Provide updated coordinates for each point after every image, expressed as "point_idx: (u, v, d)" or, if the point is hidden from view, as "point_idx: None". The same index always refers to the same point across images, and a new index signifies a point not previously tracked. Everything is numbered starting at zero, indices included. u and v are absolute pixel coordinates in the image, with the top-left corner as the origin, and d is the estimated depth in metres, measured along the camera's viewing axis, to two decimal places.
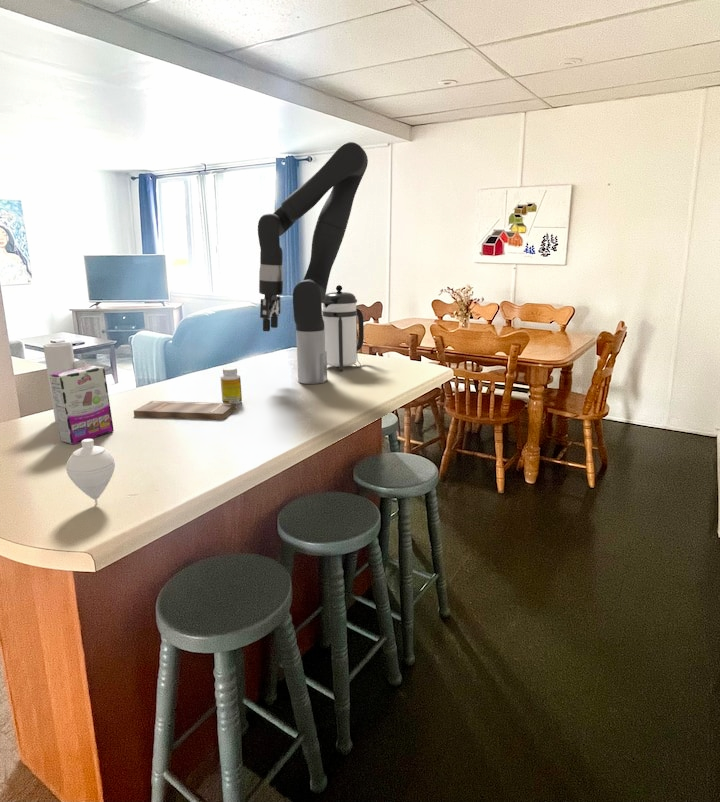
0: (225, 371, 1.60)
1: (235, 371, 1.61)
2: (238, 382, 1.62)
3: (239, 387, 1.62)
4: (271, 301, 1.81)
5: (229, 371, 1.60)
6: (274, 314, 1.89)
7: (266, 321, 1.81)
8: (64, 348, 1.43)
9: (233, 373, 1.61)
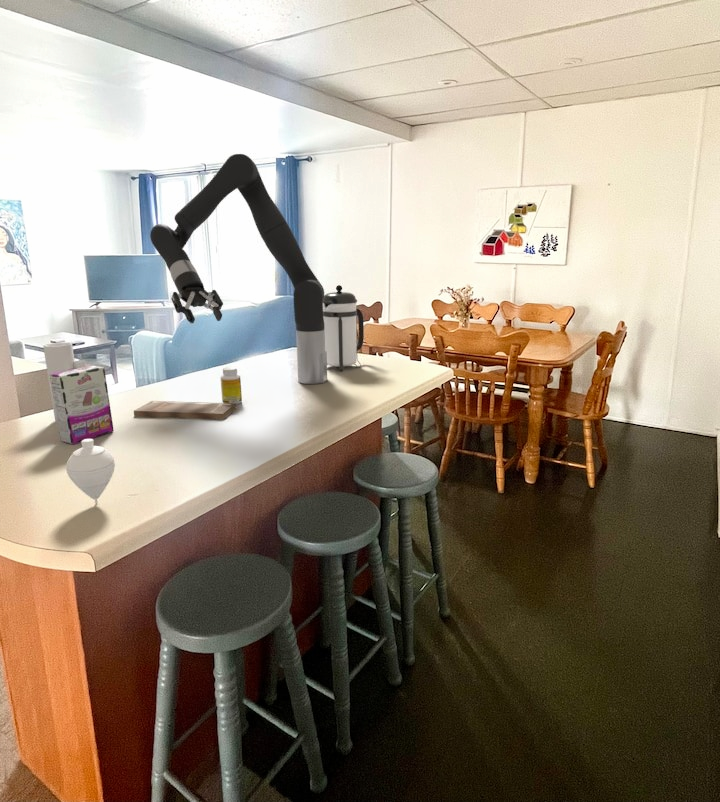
0: (225, 371, 1.60)
1: (235, 371, 1.61)
2: (238, 382, 1.62)
3: (239, 387, 1.62)
4: (186, 294, 1.67)
5: (229, 371, 1.60)
6: (213, 307, 1.71)
7: (185, 312, 1.64)
8: (64, 348, 1.43)
9: (233, 373, 1.61)
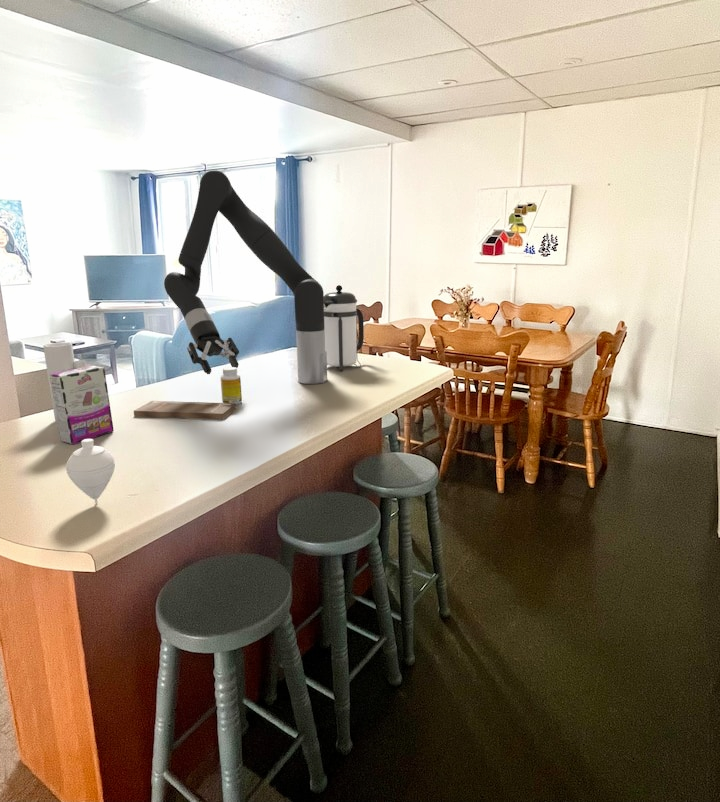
0: (225, 371, 1.60)
1: (235, 371, 1.61)
2: (238, 382, 1.62)
3: (239, 387, 1.62)
4: (202, 343, 1.65)
5: (229, 371, 1.60)
6: (229, 356, 1.69)
7: (202, 363, 1.62)
8: (64, 348, 1.43)
9: (233, 373, 1.61)
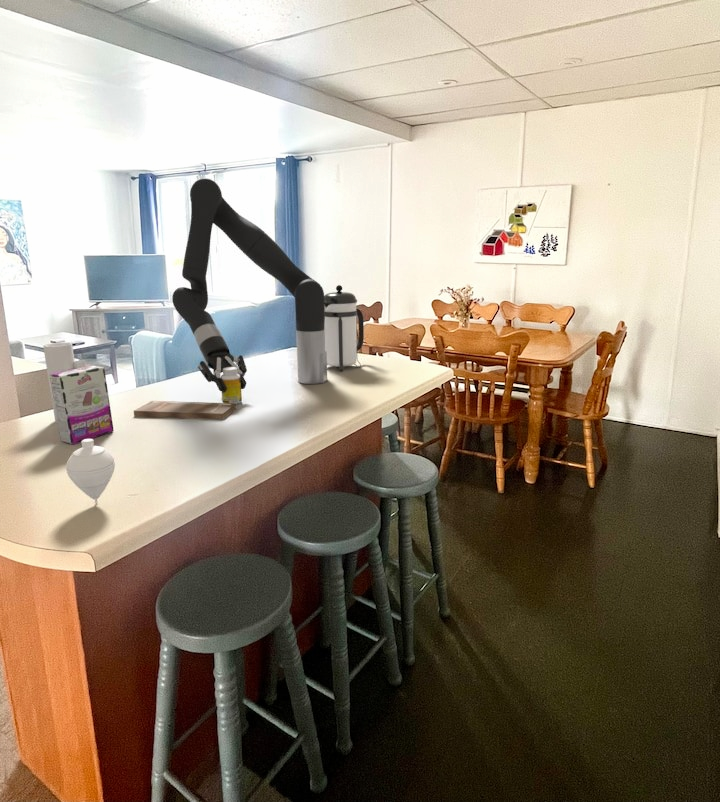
0: (225, 371, 1.60)
1: (235, 371, 1.61)
2: (238, 382, 1.62)
3: (239, 387, 1.62)
4: (212, 360, 1.63)
5: (229, 371, 1.60)
6: None
7: (217, 381, 1.60)
8: (64, 348, 1.43)
9: (233, 373, 1.61)
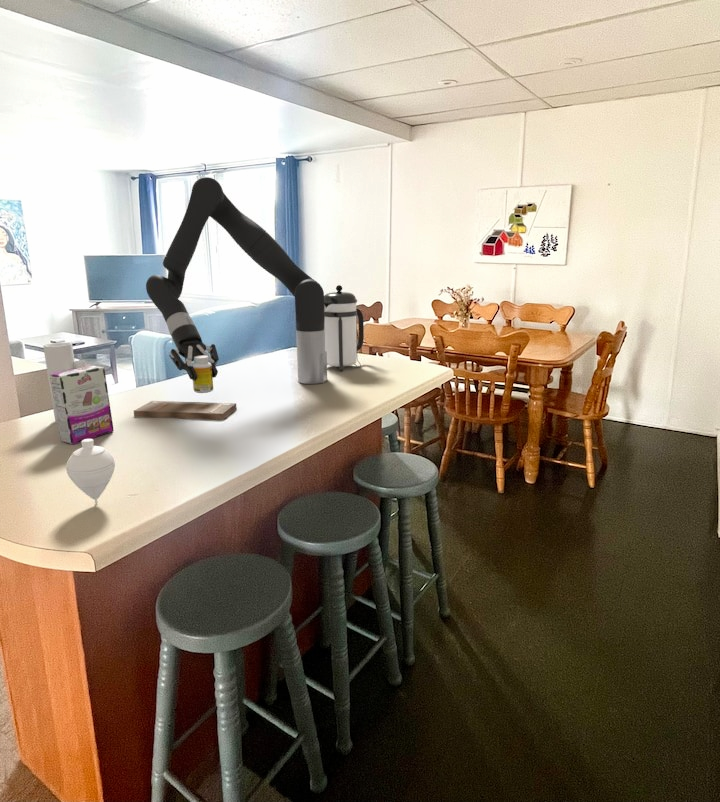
0: (196, 359, 1.60)
1: (206, 359, 1.61)
2: (209, 370, 1.62)
3: (210, 375, 1.63)
4: (183, 348, 1.63)
5: (200, 359, 1.60)
6: None
7: (188, 369, 1.61)
8: (64, 348, 1.43)
9: (204, 361, 1.61)
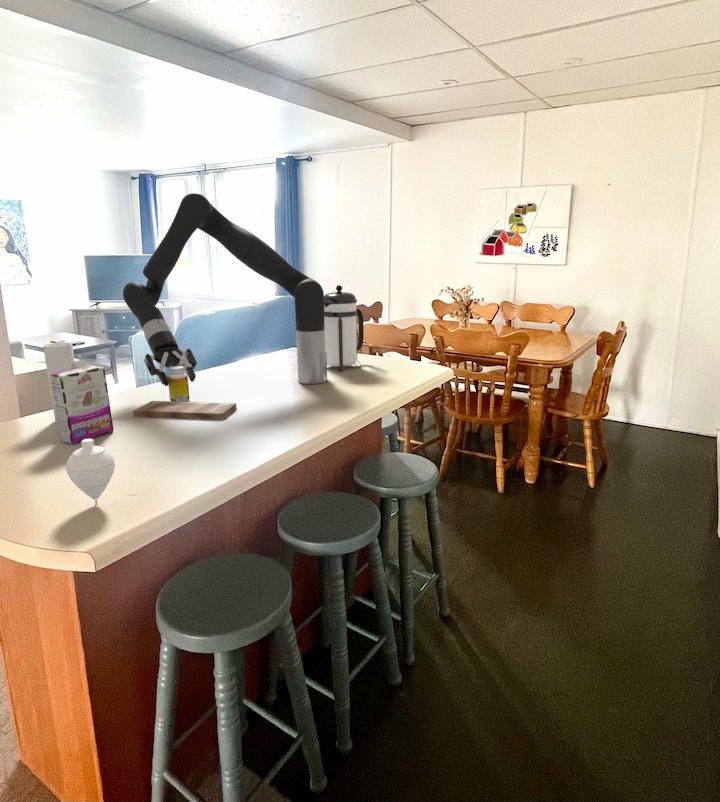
0: (171, 370, 1.63)
1: (182, 370, 1.63)
2: (185, 381, 1.64)
3: (186, 386, 1.65)
4: (159, 354, 1.65)
5: (175, 370, 1.62)
6: (187, 368, 1.68)
7: (160, 375, 1.62)
8: (64, 348, 1.43)
9: (179, 372, 1.63)
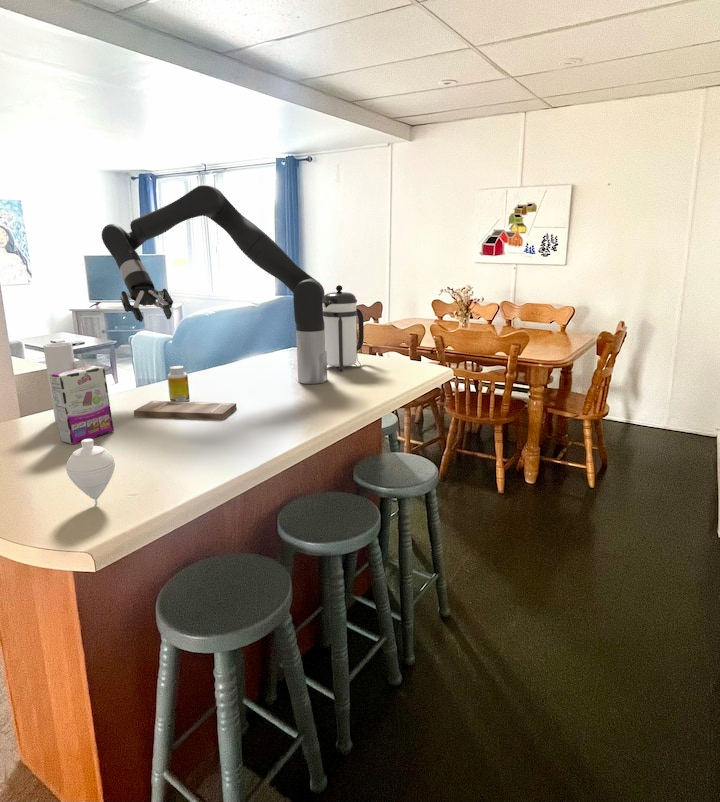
0: (171, 370, 1.63)
1: (182, 370, 1.63)
2: (185, 381, 1.64)
3: (186, 385, 1.65)
4: (135, 293, 1.69)
5: (175, 370, 1.62)
6: (163, 306, 1.73)
7: (134, 311, 1.66)
8: (64, 348, 1.43)
9: (179, 372, 1.63)
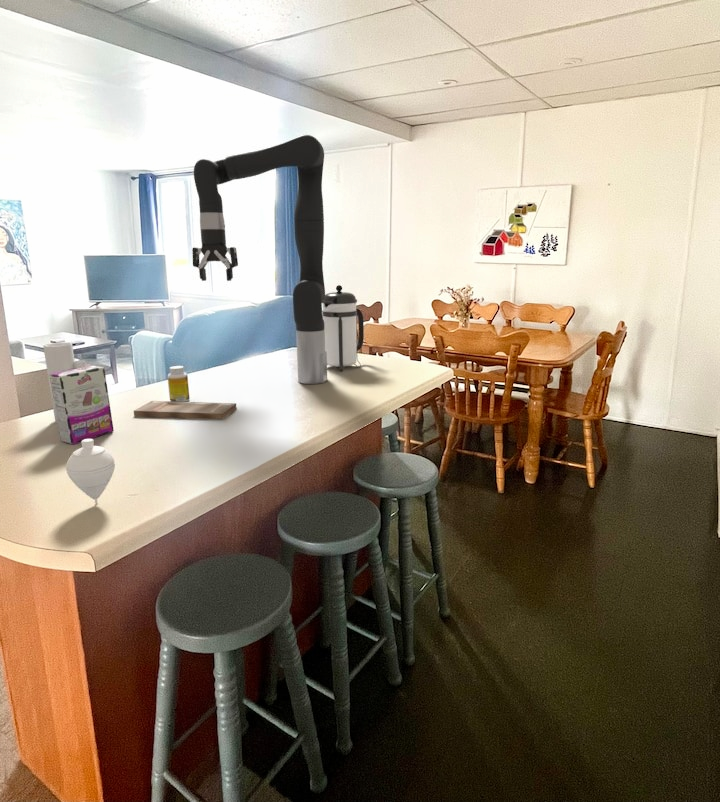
0: (171, 370, 1.63)
1: (182, 370, 1.63)
2: (185, 381, 1.64)
3: (186, 385, 1.65)
4: (204, 250, 1.80)
5: (175, 370, 1.62)
6: None
7: None
8: (64, 348, 1.43)
9: (179, 372, 1.63)
